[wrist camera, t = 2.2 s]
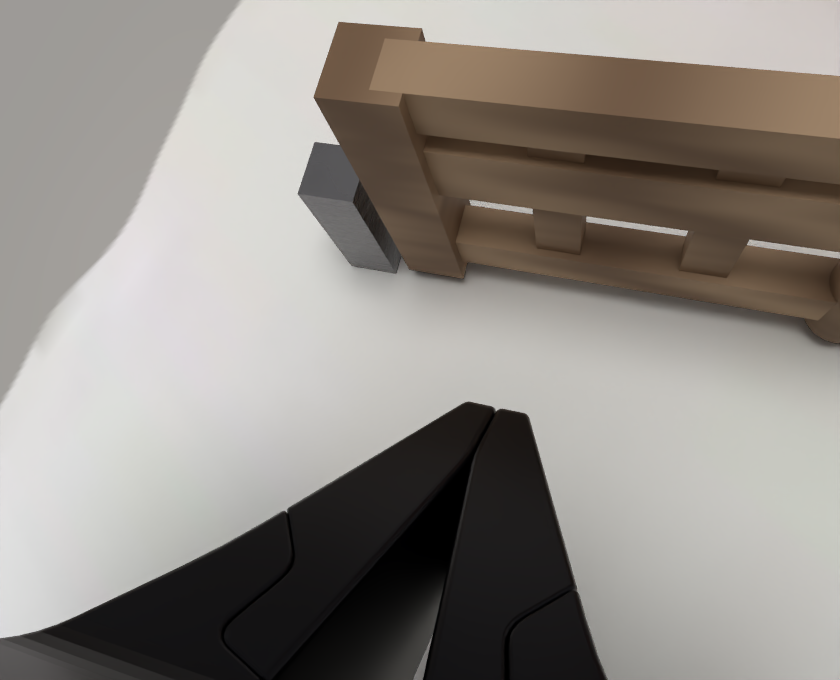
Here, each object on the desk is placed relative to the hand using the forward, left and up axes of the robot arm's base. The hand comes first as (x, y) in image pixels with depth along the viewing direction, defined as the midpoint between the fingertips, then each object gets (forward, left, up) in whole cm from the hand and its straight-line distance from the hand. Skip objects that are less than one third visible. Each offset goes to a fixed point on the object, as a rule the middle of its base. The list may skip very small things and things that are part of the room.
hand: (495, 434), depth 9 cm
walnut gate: (+7, -1, -11) cm, 13 cm away
